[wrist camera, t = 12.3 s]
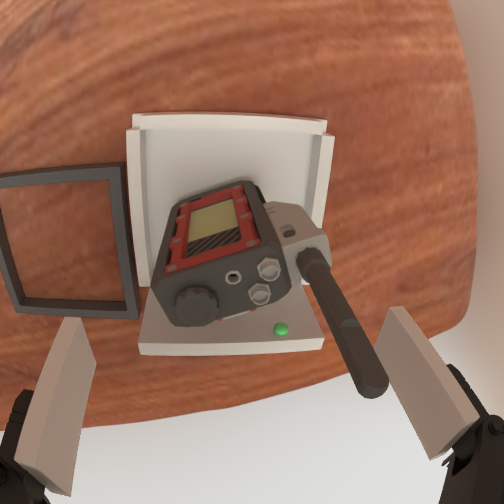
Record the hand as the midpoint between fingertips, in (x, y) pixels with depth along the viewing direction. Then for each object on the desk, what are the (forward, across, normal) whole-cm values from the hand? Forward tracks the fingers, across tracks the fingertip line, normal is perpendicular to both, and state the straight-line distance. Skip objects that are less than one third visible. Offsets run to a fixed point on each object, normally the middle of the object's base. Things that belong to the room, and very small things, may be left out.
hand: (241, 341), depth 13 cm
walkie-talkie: (+15, +1, 0) cm, 15 cm away
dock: (+16, +1, 0) cm, 16 cm away
